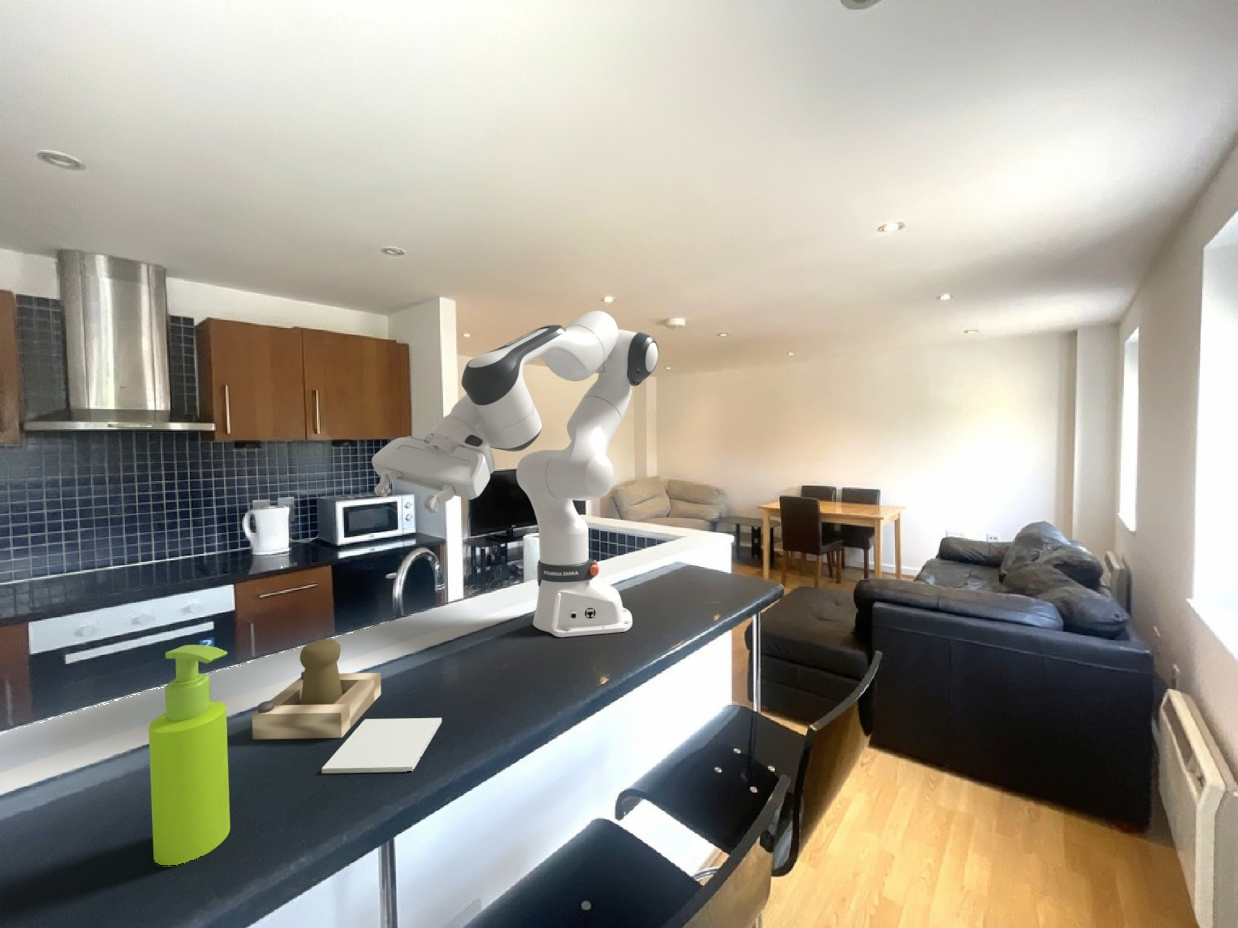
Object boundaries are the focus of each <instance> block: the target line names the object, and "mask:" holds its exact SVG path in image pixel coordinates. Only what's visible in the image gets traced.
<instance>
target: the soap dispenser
mask: <svg viewBox="0 0 1238 928" xmlns="http://www.w3.org/2000/svg"><path fill="white" fill-rule="evenodd" d="M228 654H229V653H228V651H226V650H223V649H221V648H220V647H219V648H218V647H215V646H212V645H205V644H202V645H201V644H186V645H185V644H184V645H182V646H180V647H177V648H174V649H172V650H169V651H166V652H165V659H170V660H171V659H172V660H173V659H174V660H175V678H174V679H173V680H171V681H170V682H168V683H167V684H166V685H165V688H164V692H165V693H164V697H165V699H164V700H165V701H164V702H165V713H164V714H163V713H162V714H161V715H160V716H158V717H156V718H155V719H154V720H153V721H152V722H150V723H149V726H148V739H149V741H148V742H149V743H148V744H149V745H148V746H149V770H150V771H149V772H150V794H151V795H150V799H151V819H152V823H151V824H152V844H153V845H152V847H153V861H154V860H155V861H154V863H155V862H156V863H158V864H160V865H168V866H167V867H172V866H171V865H176V866H179V865H178V864H181V863H184V864H187V863H189V862H188V861H190V860H193V861H194V859H195V860H197V859H199V857H200V856H202V857H203V856H205V855H207V854H209V853H210V852H212V851H214V850H215V849H216V848H217V847H219V845H221V844H222V843H223V842H224V841H225V840H226V839H227V837H228V835H229V833H230V831H231V815H230V813H231V812H230V789H229V788H230V786H229V785H230V784H229V783H230V781H229V780H230V779H229V762H228V761H229V756H228V755H229V754H228V753H229V752H228V750H229V749H228V724H227V722H228V721H227V720H228V719H227V718H228V717H227V706H226V704H225V703H224V702H222V701H215V700H213V701H212V700H211V685H210V683H211V681H210V676H209V675H208V674H204V673H201V672H200V673H199V662H201V663H204V664H210V663H212V662H214V661H216V660H219V659H221V658H223V657H226V656H227V655H228ZM196 858H197V859H196ZM200 858H201V857H200ZM186 862H187V863H186ZM190 862H191V861H190ZM156 863H155V864H156ZM158 864H157V865H158ZM160 865H159V866H160ZM169 865H170V866H169ZM181 865H182V864H181Z"/></svg>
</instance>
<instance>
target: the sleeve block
mask: <svg viewBox="0 0 1238 928" xmlns="http://www.w3.org/2000/svg"><path fill="white" fill-rule="evenodd" d="M339 677H340V683H341V688H342V694H343V696H342V697H341V698H340V699H339V700H338V701H337V702H336V703H334V704H332V705H300V702H301V694H302V686H303V678H304V670H303V671H302V672H300V677H299V678H298V679H296V680H295V681H294V682H292V683H291V684H289V686H287V687H286V688H284V689H283V690H282V691H280V692H279V693H277V695H275V696H274V697H272V699H270V700H266V701H263V702H262V701H261V702H260V703H259V704H258V705H257V709H256V710H255V712H253V713H251V723H252V724H251V725H252V740H284V739H285V740H286V739H291V740H292V739H295V740H296V739H339V738H343V737H344V736H345V735H346V733H347V732H349V730H351V728H352V727H353V726H354V725H355V724H356V722H357V721H359V719H360V718H361V717H362V716H363V715H364V714H365V712H367V710H368V709H369V708H370V707H371V706H372V705H373V704H374V702H375V701H376V700H377V699H378V698H379V697H380V696H381V695H382V686H381V685H382V683H381V682H382V678H381V672H357V673H356V672H352V673H350V672H347V673H344V672H343V673H339Z"/></svg>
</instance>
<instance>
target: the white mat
mask: <svg viewBox="0 0 1238 928" xmlns="http://www.w3.org/2000/svg"><path fill="white" fill-rule="evenodd" d="M442 722H443V719H442V717H422V718H421V717H420V718H419V717H418V718H416V717H415V718H410V717H408V718H365V719H364V720H363V721H362V722H361V723H360V725H359V726H358V727H356V728H355V730H354V731H353V732H352V734H351V735H350V736H348V738H347V739H346V740H345V742H343V743H342V744H341V746H340V747H339V748H338V749H337V750H336V752H335V753H334V754H333V755H332V756H331V757H330V759H329V760H327V762H326V763H325V764H324V765H323V766H322V767H321V774H344V773H345V774H356V773H357V774H358V773H402V772H406V773H407V771H412V772H413V771H414V770H415V768H416V767H417V765H418V763H419V761H420V760H421V758H422V756H423V755H424V752H425V751H426V750H427V748H428V746H429V744H430V743H431V741H432V739H433V737H434V736H435V734H436V732H437V731H438V729H439V727H440V726H441V724H442ZM420 757H421V758H420ZM413 769H414V770H413Z"/></svg>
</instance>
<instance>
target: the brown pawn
mask: <svg viewBox="0 0 1238 928" xmlns="http://www.w3.org/2000/svg"><path fill="white" fill-rule="evenodd" d="M341 650H342V648H341V645H340V643H339V642H338V641H337V640H335V639H331V638H328V639H327V638H326V639H318V640H315V641H311V642H308V643H307V644H306V645H305V646H304V647H303V648H302V649H301V651H300V653H299V661H300V664H301V665H302V667H303V668H304V670H303V671H304V678H303V686H302V694H301V702H300V705H332V704H334V703H336V702H337V701H338V700H339V699H340V698H341V697H342V696H343V694H342V688H341V683H340V677H339V665H338V661H339V659H340V656H341V652H342V651H341Z"/></svg>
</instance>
